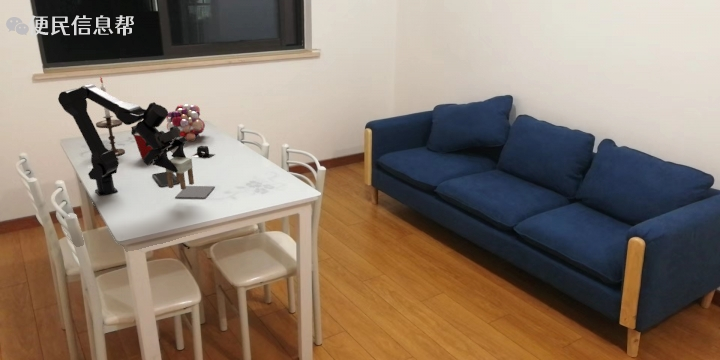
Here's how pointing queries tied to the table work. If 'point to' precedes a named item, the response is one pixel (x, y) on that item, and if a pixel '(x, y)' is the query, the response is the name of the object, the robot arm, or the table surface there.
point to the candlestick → (110, 126)
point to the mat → (195, 192)
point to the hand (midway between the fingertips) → (182, 168)
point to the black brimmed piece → (203, 155)
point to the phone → (163, 179)
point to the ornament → (186, 121)
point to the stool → (181, 171)
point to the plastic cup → (142, 145)
